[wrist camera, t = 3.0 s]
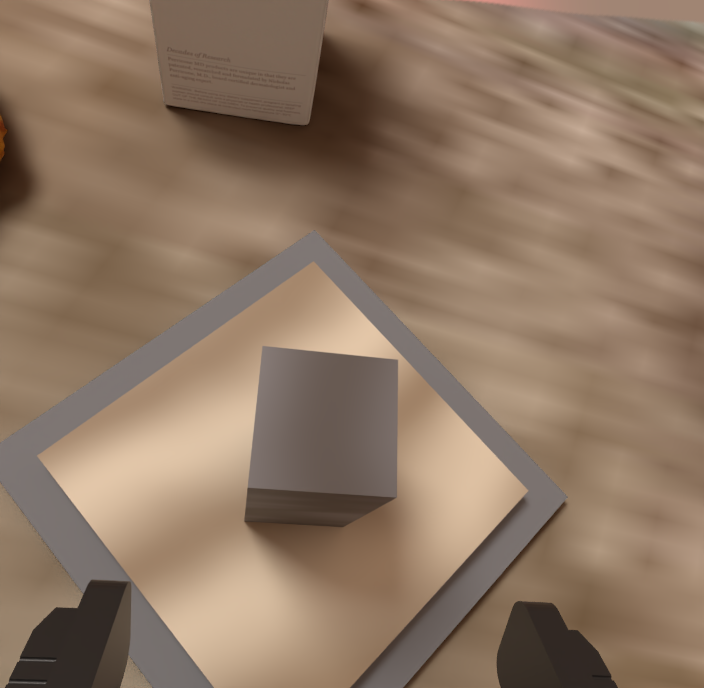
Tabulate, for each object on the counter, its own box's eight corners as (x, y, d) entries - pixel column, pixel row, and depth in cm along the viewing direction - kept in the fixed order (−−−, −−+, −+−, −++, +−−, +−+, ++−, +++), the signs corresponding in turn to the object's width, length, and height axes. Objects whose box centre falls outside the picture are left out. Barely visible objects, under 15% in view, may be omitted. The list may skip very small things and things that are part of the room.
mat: (-14, 458, 22) (-19, 455, 21) (313, 235, 28) (314, 230, 27) (268, 836, 19) (268, 843, 18) (561, 498, 25) (567, 496, 24)
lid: (43, 460, 21) (-73, 385, 13) (311, 270, 26) (343, 132, 18) (274, 762, 19) (301, 888, 11) (519, 493, 24) (660, 448, 16)
